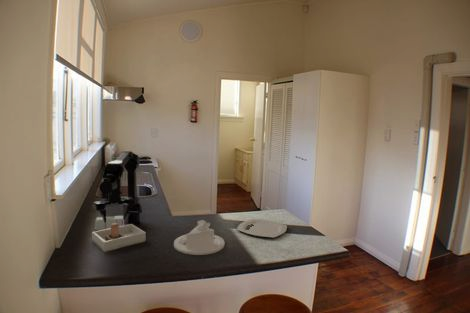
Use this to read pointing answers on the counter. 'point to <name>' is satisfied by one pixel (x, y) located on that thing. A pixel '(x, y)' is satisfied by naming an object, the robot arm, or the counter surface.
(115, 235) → the peg
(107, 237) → the socket
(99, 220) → the syrup box
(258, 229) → the plate
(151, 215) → the counter surface
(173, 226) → the counter surface
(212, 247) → the dish
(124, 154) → the robot arm
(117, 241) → the tray
